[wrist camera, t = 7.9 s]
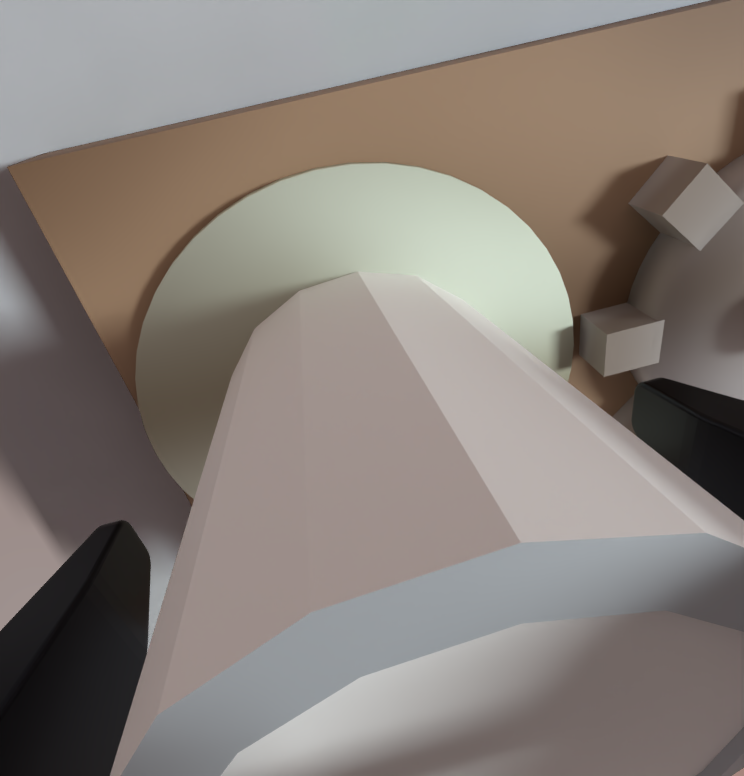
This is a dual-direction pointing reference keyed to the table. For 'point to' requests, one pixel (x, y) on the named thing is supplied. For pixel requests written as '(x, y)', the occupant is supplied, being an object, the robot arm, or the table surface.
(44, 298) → the table surface
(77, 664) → the robot arm
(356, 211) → the gear board
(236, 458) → the shot glass
